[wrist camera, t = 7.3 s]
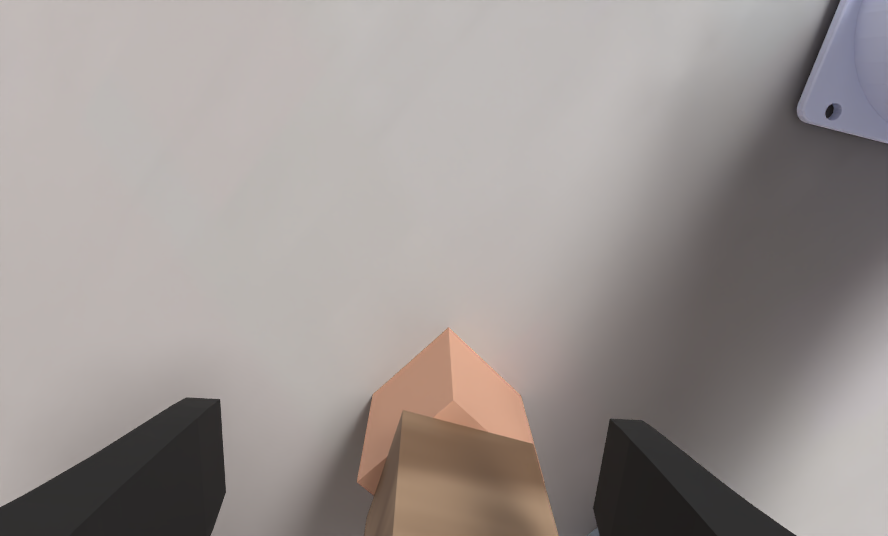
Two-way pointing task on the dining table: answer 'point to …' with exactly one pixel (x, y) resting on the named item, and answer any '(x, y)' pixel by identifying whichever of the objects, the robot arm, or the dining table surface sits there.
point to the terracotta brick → (441, 401)
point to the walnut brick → (458, 484)
